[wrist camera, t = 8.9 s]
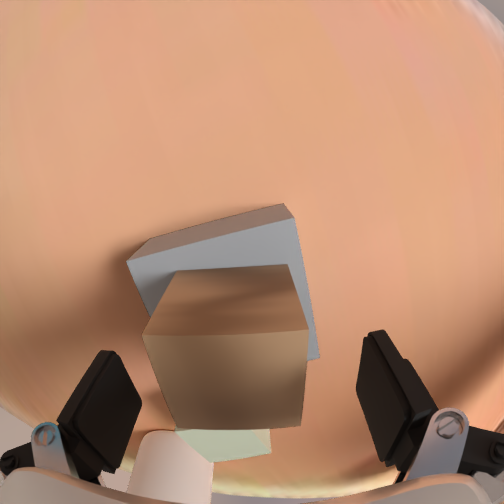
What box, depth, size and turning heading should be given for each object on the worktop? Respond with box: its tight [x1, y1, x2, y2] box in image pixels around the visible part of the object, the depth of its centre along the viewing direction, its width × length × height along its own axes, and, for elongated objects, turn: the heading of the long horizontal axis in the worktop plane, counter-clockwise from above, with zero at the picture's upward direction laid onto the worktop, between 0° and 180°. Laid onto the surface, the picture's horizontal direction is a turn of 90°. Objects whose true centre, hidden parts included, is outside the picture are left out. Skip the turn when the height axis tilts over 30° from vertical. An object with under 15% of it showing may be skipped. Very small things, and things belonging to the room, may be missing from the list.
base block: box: [126, 203, 320, 361], centre depth 15 cm, size 8×8×4 cm
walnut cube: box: [142, 264, 309, 430], centre depth 11 cm, size 5×5×5 cm
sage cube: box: [174, 426, 271, 463], centre depth 18 cm, size 5×5×5 cm
